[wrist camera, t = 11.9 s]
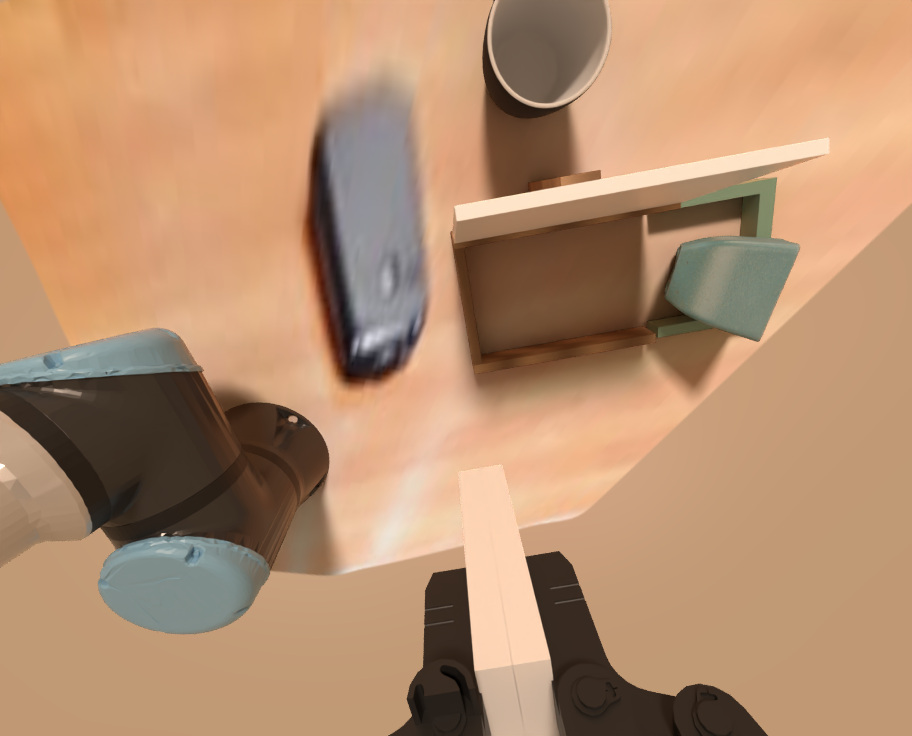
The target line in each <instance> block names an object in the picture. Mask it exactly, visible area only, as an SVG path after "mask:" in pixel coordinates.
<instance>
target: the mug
mask: <svg viewBox="0 0 912 736" xmlns="http://www.w3.org/2000/svg"><path fill="white" fill-rule="evenodd" d="M611 34H612V19H611V11H610V6H609V3H608V0H494V2H493V5H492V7H491V10H490V13H489V17H488V20H487V25H486V29H485V35H484V43H483V73H484V79H485V83H486V87H487V89H488V92H489V94H490V96H491V98H492V99H493V101H494V102H495V103H496V105H497V106H498V107H499V108H500V109H501V110H503V111H504V112H506V113H507V114H509V115H512V116H514V117H518V118H536V117H541V116H545V115H548V114H551V113H553V112H555V111H558V110H560V109H562V108H564V107H565V106H567V105H569V104H571V103H572V102H573V101H575V100H576V99H578V98H579V97H580V96H581V95H582V94H583V93H585V92H586V91H587V90H588V89H589V87H590V86H591V85H592V84H593V82H594V81H595V80H596V78H597V77H598V75H599V73H600V72H601V70H602V68H603V65H604V63H605V61H606V58H607V55H608V52H609V47H610V43H611Z"/></svg>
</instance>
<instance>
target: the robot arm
mask: <svg viewBox="0 0 912 736" xmlns="http://www.w3.org/2000/svg"><path fill="white" fill-rule="evenodd" d="M203 371H204V370H203V368H202V367H201V366H199V365H197V363H196V362H195V360H194V358H193V357H192V355H191V353H190V352H189V350H188V348H187V347H186V345H185V343H184V342H183V340H182V339H181V338H180V337H179V336H178V335H177V334H176V333H174V332H172V331H170V330H167V329H163V328H152V329H146V330H141V331H137V332H132V333H128V334H123V335H119V336H114V337H110V338H106V339H101V340H97V341H93V342H89V343H84V344H80V345H76V346H71V347H67V348H63V349H59V350H54V351H50V352H46V353H42V354H38V355H34V356H30V357H25V358H22V359H18V360H14V361H10V362H6V363H2V364H0V567H2V566H3V565H5V564H7V563H8V562H10V561H11V560H12V559H14V558H16V557H17V556H19V555H20V554H22V553H23V552H24V551H26V550H28V549H29V548H31V547H32V546H34V545H35V544H37V543H41V542H45V541H74V540H82V539H83V538H85V537H87V536H89V535H90V534H91V533H92V532H94V531H95V530H97V529H98V528H101V529H102V530H103V531H104V533H105V534H106V536H107V537H108V538H109V540H110V541H111V542H112V544H113V545H114V546H115V549H116V550H115V551H114V552H113V553H111V554H110V555H109V557H108V558H107V559H106V560H105V562H104V564H103V568H102V570H101V572H100V579H99V581H98V588H99V592H100V595H101V596H102V598H103V600H104V602H105V603H106V604H107V605H108V606H109V608H110V609H111V610H112V611H114V612H115V613H116V614H118V615H119V616H120V617H122V618H124V619H125V620H127V621H129V622H131V623H133V624H135V625H138V626H140V627H143V628H146V629H150V630H153V631H161V632H165V633H171V634H197V633H204V632H209V631H213V630H217V629H219V628H222V627H224V626H227V625H229V624H231V623H232V622H234V621H236V620H237V619H238V618H240V617H241V616H242V615H243V614H244V613H245V612H246V611H247V610H248V609H249V608H250V606H251V605H252V603H253V602H254V600H255V598H256V596H257V594H258V592H259V590H260V588H261V587H262V586H263V585H264V583H265V581H266V580H267V579H268V577H269V574H270V570H271V568H272V566H273V563H274V561H275V559H276V556H277V554H278V552H279V549H280V547H281V545H282V542H283V540H284V537H285V535H286V533H287V530H288V528H289V526H290V523H291V521H292V519H293V516H294V514H295V512H296V509H297V508H298V507H299V506H300V505H301V504H302V503H303V502H304V501H305V500H307V499H308V497H310V496H311V495H312V494H313V493H314V492H316V491H317V490H318V488H319V487H320V486H321V485H322V483H323V482H324V480H325V478H326V476H327V473H328V469H329V453H328V449H327V446H326V443H325V441H324V439H323V437H322V435H321V434H320V432H319V431H318V430H317V428H316V427H315V426H314V425H313V424H312V423H311V422H310V421H309V420H307V419H306V418H305V417H303V416H302V415H300V414H299V413H297V412H295V411H293V410H291V409H289V408H286V407H283V406H280V405H276V404H270V403H248V404H243V405H240V406H237V407H234V408H232V409H230V410H228V411H226V412H225V413H224V412H223V410H222V409H221V407H220V405H219V403H218V401H217V399H216V398H215V396H214V394H213V392H212V390H211V388H210V386H209V385H208V383H207V381H206V379H205V377H204V375H203V373H202V372H203ZM290 414H292V415H296V416H297V418H298V421H297V422H296V423H293V422H290V421H289V420H288V419H287V416H288V415H290ZM458 476H459V488H460V500H461V513H462V525H463V537H464V549H465V562H466V568H461V569H455V570H449V571H443V572H437V573H433V575H432V577H431V579H430V581H429V583H428V585H427V588H426V590H425V620H424V622H425V623H424V624H425V628H424V657H423V659H424V660H423V668H422V669H421V670H420V671H419V672H418V673H417V674H416V676H415V678H414V679H413V681H412V683H411V684H410V687H409V692H408V696H407V701H408V704H409V707H410V710H411V713H412V717H411V718H410V719H409V720H408V721H407V722H406V723H405V725H404V726H402V727H401V728H400V729H398V730H397V731H395V732H394V733H393V734H390V735H389V736H768V735H767V734H766V733H765V732H764V731H763V729H762V728H761V727H760V726H759V725H758V724H757V722H756V721H755V720H754V719H753V718H752V716H751V715H750V714H749V713H748V712H747V711H746V709H745V708H744V707H743V706H742V705H740V704H739V703H738V702H737V701H736V700H735V699H734V698H733V697H732V696H730V695H729V694H727V693H725V692H723V691H721V690H720V689H717V688H715V687H713V686H708V685H703V684H695V685H691V686H686V687H685V688H684V689H683V690H681V691H680V692H679V693H678V694H677V696H676V697H675V696H670V695H666V694H661V693H656V692H651V691H647V690H644V689H640V688H637V687H636V686H634V685H632V684H630V683H628V682H627V681H625V680H624V679H623V678H622V677H621V676H620V675H618V674H617V672H616V671H615V670H614V669H613V668H612V666H611V665H610V663H609V661H608V659H607V657H606V655H605V652H604V649H603V647H602V644H601V641H600V639H599V636H598V633H597V631H596V628H595V625H594V622H593V620H592V618H591V614H590V612H589V609H588V606H587V604H586V601H585V599H584V596H583V593H582V590H581V588H580V586H579V583H578V580H577V577H576V574H575V572H574V569H573V566H572V564H571V563H570V562H569V561H568V560H567V559H566V558H565V557H564V556H563V555H562V554H561V553H560V552H559V551H558V552H551V553H545V554H539V555H533V556H527V557H525V554H524V550H523V546H522V543H521V539H520V535H519V530H518V526H517V522H516V518H515V514H514V510H513V506H512V502H511V498H510V494H509V490H508V486H507V482H506V478H505V474H504V470H503V466H502V464H500V465H494V466H488V467H482V468H476V469H470V470H464V471H459V472H458ZM319 481H320V485H317V484H318V482H319Z"/></svg>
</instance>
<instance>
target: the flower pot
mask: <svg viewBox="0 0 912 736" xmlns="http://www.w3.org/2000/svg"><path fill="white" fill-rule="evenodd" d="M799 250H800V245H799V244H796V243H792V242H788V241H785V240H783V239H774V238H759V237H742V236H717V237H708V238H702V239H698V240H694V241H690V242H686V243H683V244H681V245H680V247H679V248H678V249H677V252H676V260H675V264H674V267H673V270H672V273H671V275H670V279H669V281H668V282H667V283H666V286H665V288H666V289H665V292H664V295H665V299H666V300H667V301H668V302H670V303H671V304H672V305H673V306H674V307H676V308H677V309H678V310H680V311H681V312H682V313H684V314H686V315H687V316H689V317H691V318H693V319H695V320H697V321H699V322H701V323H703V324H706V325H708V326H711V327H714V328H717V329H720V330H723V331H726V332H729V333H732V334H735V335H738V336H741V337H744V338H747V339H750V340H754V341H757V342H759V341H760V339H761V337H762V335H763V333H764V331H765V328H766V326H767V323H768V321H769V319H770V316H771V314H772V312H773V310H774V307H775V305H776V303H777V301H778V298H779V296H780V294H781V292H782V289H783V287H784V285H785V282H786V280H787V278H788V276H789V273H790V271H791V269H792V267H793V265H794V262H795V259H796V257H797V255H798V252H799Z"/></svg>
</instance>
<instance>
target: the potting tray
mask: <svg viewBox="0 0 912 736" xmlns="http://www.w3.org/2000/svg"><path fill="white" fill-rule="evenodd" d="M776 182H777V177H776V178H761V179H754V180H749V181H745V182H742V183H739V184H736V185H733V186H730V187H727V188H724V189H721V190H718V191H715V192H712V193H709V194H706V195H703V196H700V197H697V198H694V199H691V200H688V201H685V202H682V203H681V208H683V207H688V206H694V205H699V204H705V203H710V202H716V201H721V200H727V199H732V198H738V197H743V203H742V217H741V230H740V236H742V237H759V238H771V231H772V221H773V212H774V202H775V192H776ZM712 328H714V327H711V326H708V325H706V324H703V323H701V322H699V321H697V320H695V319H693V318H691V317H689V316H687V315H681V316H675V317H670V318H664V319H658V320H653V321H647V329H648V330H650V331H652V332H653V333H655V334H656V337H657V338H660V337H666V336H671V335H677V334H683V333H689V332H694V331H700V330H706V329H712Z"/></svg>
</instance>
